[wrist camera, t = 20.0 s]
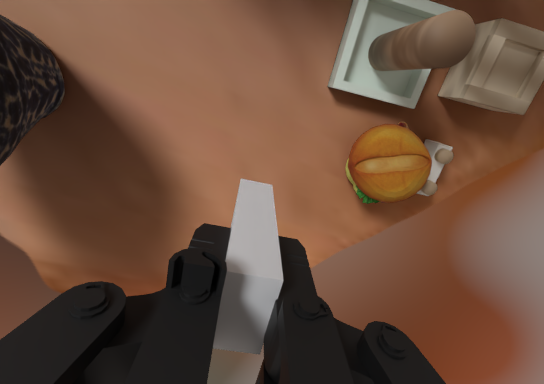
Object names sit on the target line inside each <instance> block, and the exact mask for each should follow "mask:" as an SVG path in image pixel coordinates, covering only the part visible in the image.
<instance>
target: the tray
mask: <svg viewBox="0 0 544 384" xmlns="http://www.w3.org/2000/svg"><path fill="white" fill-rule="evenodd" d="M451 10H456V9H454V8H451V7H447V6H444V5H441V4H438V3H435V2H432V1H429V0H353V3H352V6H351V9H350V13H349V16H348V19H347V23H346V26H345V30H344V33H343V36H342V40H341V43H340V46H339V50H338V53H337V57H336V60H335V63H334V67H333V70H332V73H331V77H330V80H329V83H328V87H331V88H334V89H338V90H342V91H346V92H350V93H353V94H357V95H361V96H365V97H368V98H372V99H376V100H380V101H384V102H387V103H391V104H395V105H399V106H403V107H407V108H412V109H415V106H416V104H417V102H418V99H419V97H420V94H421V92H422V90H423V87H424V85H425V83H426V80H427V78H428V75H429V73H430V71H431V69H415V70H395V71H378V70H376V69H374V68H373V67H372V66H371V64H370V63H369V59H368V51H369V48H370V45H371V43H372V42H373V41H374V39H376V38H377V37H378V36H380V35H382V34H385V33H388V32H390V31H393V30H396V29H399V28H402V27H405V26H408V25H410V24H413V23H416V22H419V21H422V20H425V19H428V18H430V17H433V16H436V15H439V14H442V13H445V12H448V11H451Z"/></svg>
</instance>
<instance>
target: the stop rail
mask: <svg viewBox="0 0 544 384" xmlns="http://www.w3.org/2000/svg"><path fill="white" fill-rule="evenodd" d="M424 145H425V147H426V148H427V150H428V152H429V154H430V156H431V159H432V166H431V171H430V175H429V177H428V179H427V182H426V184H425V185H424V186H423V187H422V189H421V190H420V191H419V192H417V193H416V194H421V195H425V196H429V195H432V194H434V193H435V192H436V191H437V184H435V183H436V180H437V178H438V176H439V174H440V172H441V170H442V168H443V166H444V164H448V163H449V162H451V161H452V159H453V152H452V151H451V150H452V148H453V147H451V146H448V145H445V144H443V143H440V142H436V141H432V140H428V139H426V140H425V142H424Z"/></svg>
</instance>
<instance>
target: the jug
mask: <svg viewBox="0 0 544 384" xmlns="http://www.w3.org/2000/svg"><path fill="white" fill-rule="evenodd" d="M64 94H65V88H64V80H63V76H62V73H61V70H60V68H59V65H58V63H57V61H56V59H55V57H54V56H53V54H52V53H51V51H50V50H49V49H48V48H47V47H46V46H45V45H44V44H43V43H42V42H41V41H40V40H39V39H38V38H37V37H36V36H35V35H34V34H32V33H31V32H29V31H28V30H26V29H24V28H22V27H21V26H19V25H17V24H16V23H14V22H12V21H11V20H9V19H7V18H5V17H3V16H2V15H0V165H1V164H2V163H3V162H4V161H5V160H6V159H7V158H8V157H9V156H10V155H11V153H12V152H13V151H14V149H15V148H16V146H17V145H18V143H19V142H20V140H21V139H22V138H23V137H24V136H25V135H26V134H27V133H28V132H29V131H30V130H31V129H32V128H33V127H34V125H35V124H36V123H37V122H38V121H39V120H40V119H41V118H44V117H46V116H47V115H49V114H51V113H52V112H53V111H54V110H56V109H57V108H58V107H59V106H60V104H61V103H62V100H63V97H64Z"/></svg>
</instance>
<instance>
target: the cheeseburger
mask: <svg viewBox="0 0 544 384" xmlns="http://www.w3.org/2000/svg"><path fill="white" fill-rule="evenodd" d="M431 166H432V159H431V156H430V154H429V152H428V150H427V148H426V147H425V145H424V144H423V142H422V141H421V140H420V138H419V137H418V136H417V135H416V134H415V133H413V132H412V131H411V130H409V128H408V126H407V124H406V123H405V122H399V123H398V125H396V124H383V125H380V126H376V127H373V128H371V129H370V130H368V131H366V132H365V133H363V134H362V135H361V136H360V137H359V138H358V139H357V140H356V142H355V143H354V145H353V147H352V149H351V152H350V155H349V158H348V160H347V164H346V169H345V170H346V175H347V178H348V179H349V181H350V182H351V183H352V184H353V188H354V190H355V192H356V194H357V195H358V196H359V197H360V198H362V197H363V203H367V204H369V203H372V202H374V203H377V202H390V203H394V202H398V201H403V200H406V199H408V198H410V197H411V196H413V195H415V194H416V193H417V192H419V191H420V190H421V189H422V187H423V186H424V185H425V184H426V182H427V179H428V177H429V175H430V171H431ZM360 198H359V199H360Z"/></svg>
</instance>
